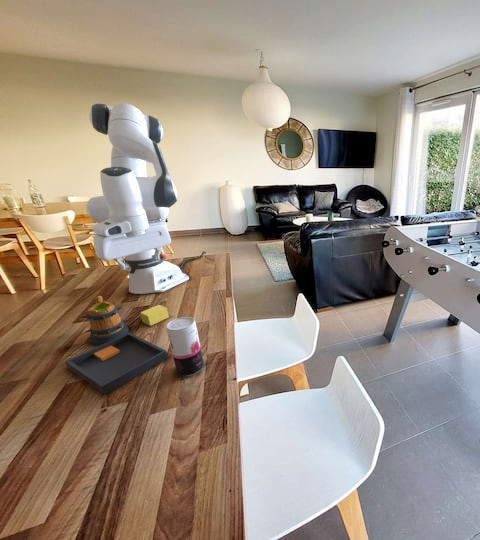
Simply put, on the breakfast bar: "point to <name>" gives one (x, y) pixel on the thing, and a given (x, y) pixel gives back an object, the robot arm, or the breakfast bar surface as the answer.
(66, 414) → the breakfast bar surface
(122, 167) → the robot arm
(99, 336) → the brown wooden barrel
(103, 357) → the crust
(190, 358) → the beverage can
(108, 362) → the dark grey tray
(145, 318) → the sponge
